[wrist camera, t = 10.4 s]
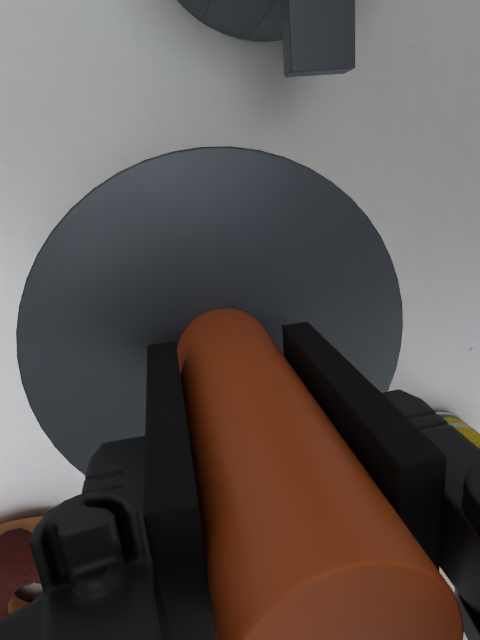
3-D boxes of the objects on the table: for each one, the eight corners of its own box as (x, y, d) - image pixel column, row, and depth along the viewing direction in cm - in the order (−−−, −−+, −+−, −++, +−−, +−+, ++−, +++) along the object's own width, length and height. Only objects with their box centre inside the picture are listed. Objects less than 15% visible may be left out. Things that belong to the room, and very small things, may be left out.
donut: (68, 477, 28) (55, 524, 24) (151, 577, 32) (151, 631, 28) (-77, 559, 28) (-112, 618, 24) (23, 650, 32) (6, 714, 28)
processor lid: (389, 131, 15) (966, 37, 4) (384, 458, 19) (678, 821, 8) (-20, 167, 13) (-731, 154, 3) (70, 520, 17) (-60, 1081, 7)
